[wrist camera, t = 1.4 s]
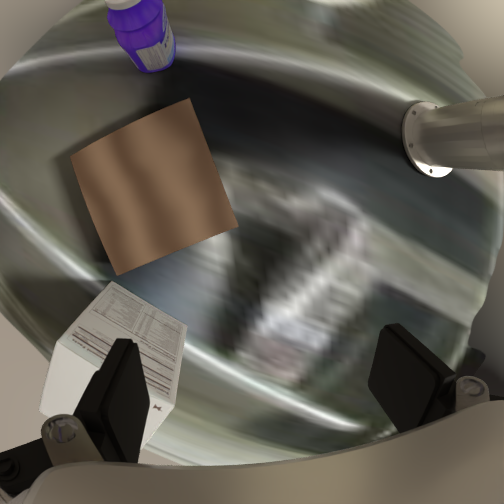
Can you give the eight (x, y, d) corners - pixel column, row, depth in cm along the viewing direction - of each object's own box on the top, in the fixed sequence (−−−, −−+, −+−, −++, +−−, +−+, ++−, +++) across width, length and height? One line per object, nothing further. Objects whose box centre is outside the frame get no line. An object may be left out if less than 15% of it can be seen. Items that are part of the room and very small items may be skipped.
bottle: (177, 72, 33) (154, 6, 16) (136, 80, 32) (89, 23, 16) (176, 30, 31) (157, -45, 14) (136, 37, 30) (98, -30, 14)
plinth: (192, 108, 34) (189, 97, 30) (235, 220, 39) (238, 226, 34) (85, 158, 34) (69, 156, 29) (128, 264, 38) (117, 275, 33)
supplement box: (110, 277, 38) (55, 337, 22) (189, 324, 41) (177, 407, 25) (82, 342, 40) (36, 411, 23) (151, 382, 43) (132, 463, 26)
